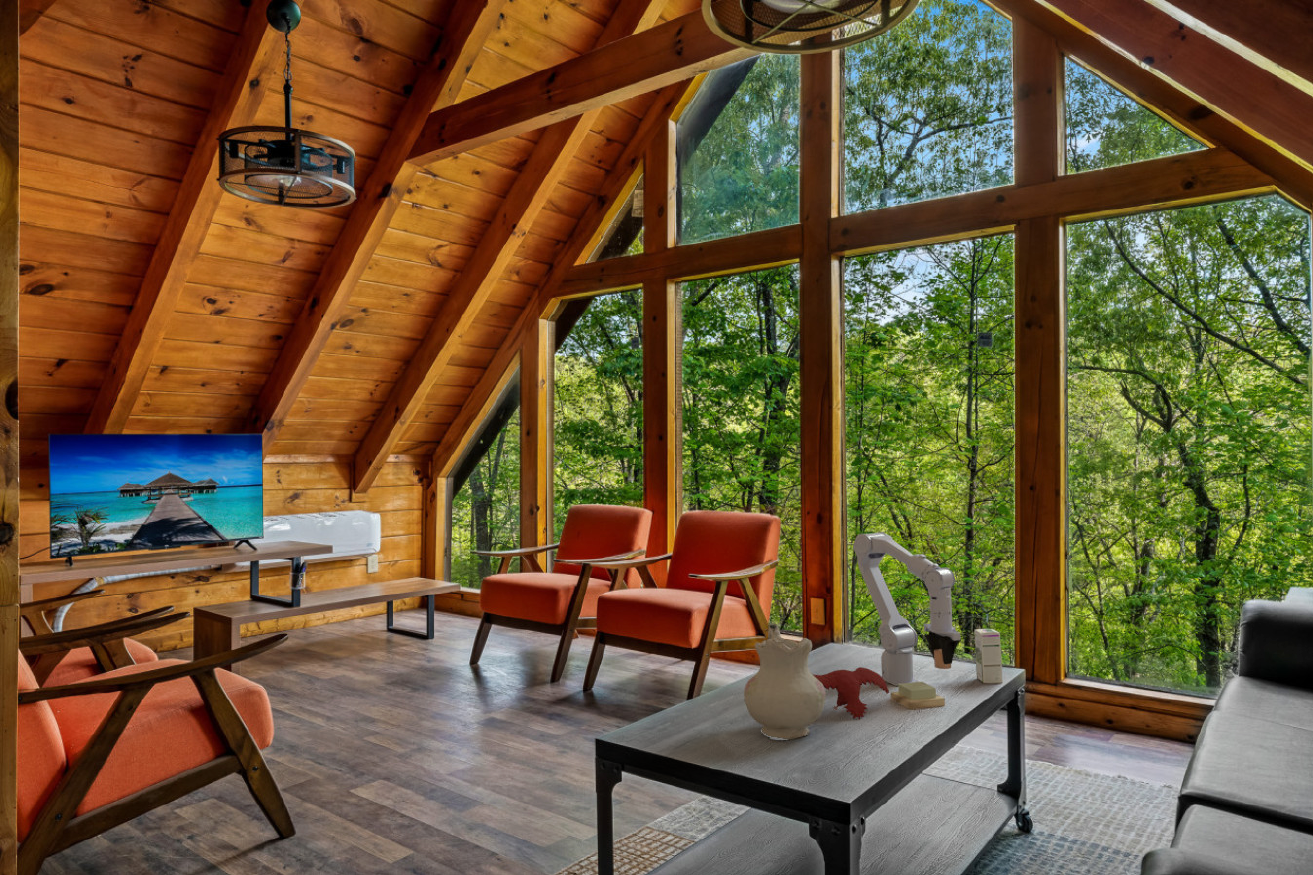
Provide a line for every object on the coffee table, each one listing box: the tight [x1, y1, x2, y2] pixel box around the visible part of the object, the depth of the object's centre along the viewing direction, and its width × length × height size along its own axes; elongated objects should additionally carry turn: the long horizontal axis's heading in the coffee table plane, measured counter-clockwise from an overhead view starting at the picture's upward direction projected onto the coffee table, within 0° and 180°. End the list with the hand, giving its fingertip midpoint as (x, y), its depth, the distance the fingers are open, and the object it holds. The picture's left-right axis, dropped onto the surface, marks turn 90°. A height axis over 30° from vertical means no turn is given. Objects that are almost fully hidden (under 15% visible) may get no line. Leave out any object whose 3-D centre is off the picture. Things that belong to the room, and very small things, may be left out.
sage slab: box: [897, 681, 937, 700], centre depth 229 cm, size 7×7×2 cm
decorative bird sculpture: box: [811, 666, 890, 720], centre depth 222 cm, size 28×9×15 cm
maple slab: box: [890, 691, 946, 710], centre depth 229 cm, size 10×10×2 cm
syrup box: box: [974, 628, 1003, 684], centre depth 249 cm, size 6×6×14 cm
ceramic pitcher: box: [743, 622, 826, 740], centre depth 209 cm, size 22×20×25 cm
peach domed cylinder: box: [933, 649, 952, 670], centre depth 238 cm, size 4×4×4 cm
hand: (942, 661), depth 238 cm, fingers closed on peach domed cylinder, 4 cm apart
